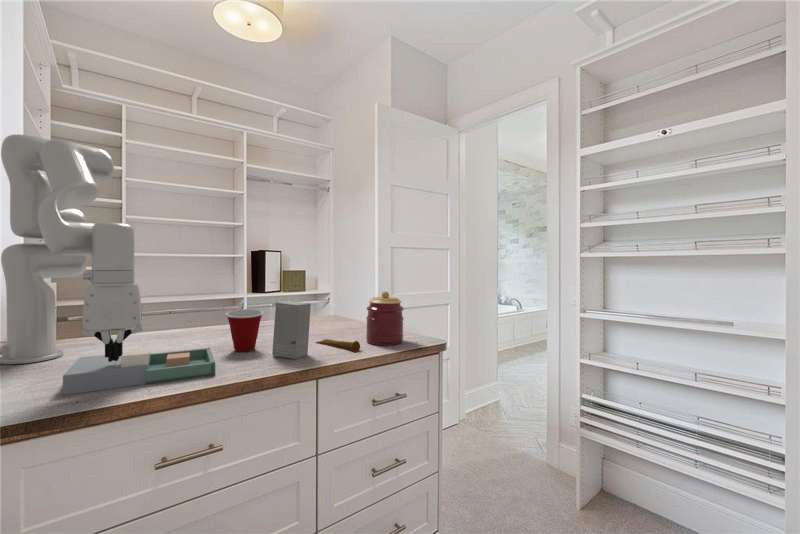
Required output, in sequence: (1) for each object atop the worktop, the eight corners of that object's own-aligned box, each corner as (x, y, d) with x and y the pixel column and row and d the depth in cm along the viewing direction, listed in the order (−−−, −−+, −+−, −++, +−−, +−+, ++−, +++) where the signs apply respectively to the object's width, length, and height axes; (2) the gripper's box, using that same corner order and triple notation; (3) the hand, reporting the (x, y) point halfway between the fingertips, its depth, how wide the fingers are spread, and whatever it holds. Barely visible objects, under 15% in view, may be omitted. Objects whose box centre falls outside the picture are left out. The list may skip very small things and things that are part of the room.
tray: (145, 384, 82) (145, 371, 82) (150, 365, 97) (150, 353, 97) (215, 374, 90) (215, 362, 90) (209, 358, 104) (209, 347, 104)
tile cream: (121, 367, 82) (121, 356, 82) (124, 361, 86) (124, 351, 86) (148, 364, 84) (148, 353, 84) (150, 359, 88) (150, 348, 88)
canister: (410, 341, 129) (411, 291, 129) (385, 348, 119) (386, 293, 119) (384, 336, 138) (384, 289, 137) (358, 341, 128) (358, 291, 128)
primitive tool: (314, 344, 126) (314, 333, 125) (327, 341, 130) (327, 331, 130) (353, 354, 113) (353, 342, 113) (365, 350, 117) (365, 339, 117)
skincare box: (271, 356, 107) (272, 302, 107) (288, 351, 114) (288, 299, 113) (295, 360, 104) (296, 304, 103) (310, 354, 110) (311, 301, 110)
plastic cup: (223, 355, 107) (223, 314, 107) (227, 347, 117) (227, 309, 117) (262, 353, 111) (263, 313, 110) (263, 345, 121) (264, 308, 121)
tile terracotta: (189, 356, 95) (189, 366, 95) (189, 352, 99) (189, 361, 99) (166, 359, 92) (166, 369, 92) (167, 354, 97) (167, 363, 97)
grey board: (62, 394, 76) (62, 375, 75) (80, 373, 89) (80, 357, 89) (145, 383, 83) (145, 366, 83) (149, 365, 96) (149, 350, 96)
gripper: (64, 280, 75) (65, 369, 76) (152, 278, 83) (152, 359, 83) (73, 278, 82) (74, 360, 82) (154, 277, 90) (154, 352, 90)
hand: (113, 359), depth 83 cm, fingers closed
